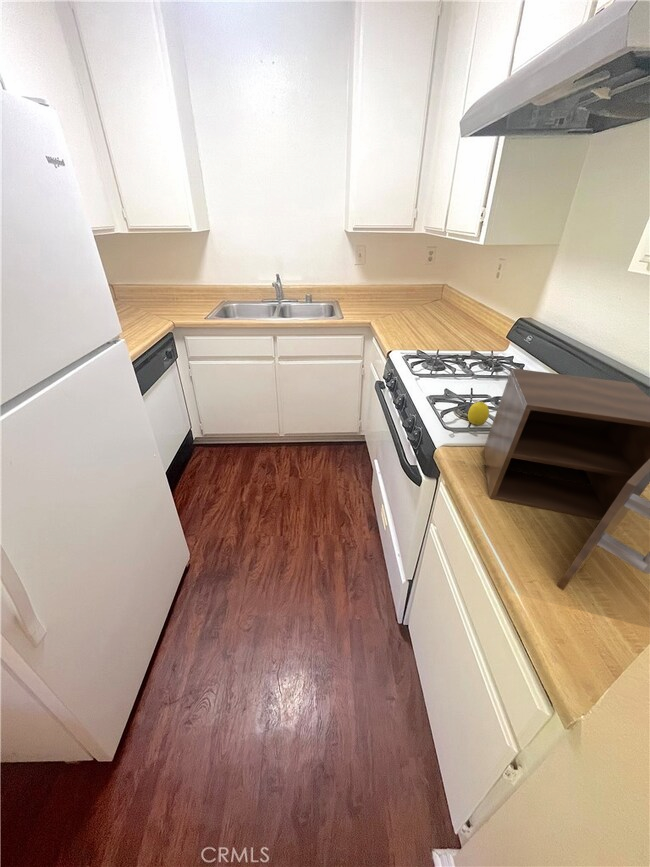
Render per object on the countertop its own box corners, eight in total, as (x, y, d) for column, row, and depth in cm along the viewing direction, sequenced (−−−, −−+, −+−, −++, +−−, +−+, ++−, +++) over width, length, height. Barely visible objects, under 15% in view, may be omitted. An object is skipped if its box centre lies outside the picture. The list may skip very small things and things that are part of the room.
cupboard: (612, 523, 72) (681, 426, 58) (489, 499, 77) (527, 404, 64) (584, 470, 86) (634, 383, 73) (482, 453, 91) (511, 368, 78)
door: (657, 550, 66) (743, 450, 53) (608, 623, 54) (703, 518, 41) (611, 524, 71) (679, 428, 58) (556, 586, 59) (626, 482, 46)
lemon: (488, 430, 101) (496, 406, 97) (470, 431, 100) (478, 407, 96) (478, 420, 106) (485, 396, 101) (461, 421, 105) (468, 398, 100)
